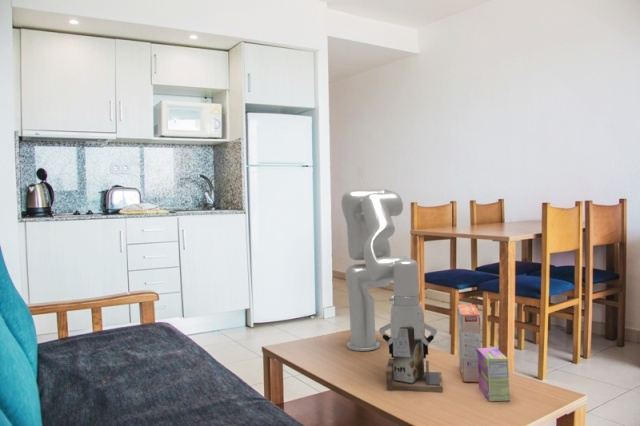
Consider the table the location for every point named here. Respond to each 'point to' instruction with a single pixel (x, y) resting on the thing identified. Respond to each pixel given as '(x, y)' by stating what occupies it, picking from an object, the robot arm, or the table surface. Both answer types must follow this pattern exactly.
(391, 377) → the shelf
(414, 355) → the coffee box
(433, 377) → the bookend
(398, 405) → the table surface
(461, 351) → the cracker box
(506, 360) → the box
